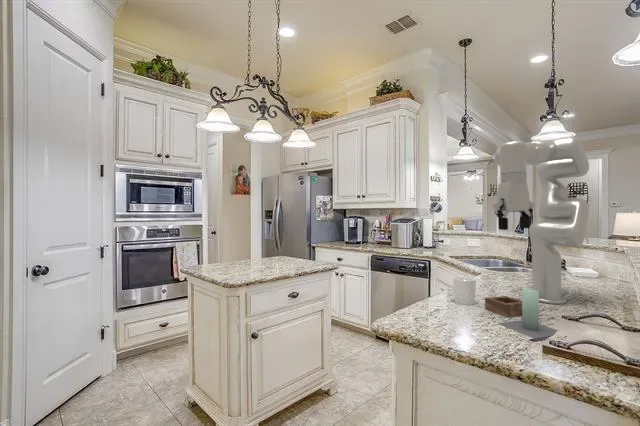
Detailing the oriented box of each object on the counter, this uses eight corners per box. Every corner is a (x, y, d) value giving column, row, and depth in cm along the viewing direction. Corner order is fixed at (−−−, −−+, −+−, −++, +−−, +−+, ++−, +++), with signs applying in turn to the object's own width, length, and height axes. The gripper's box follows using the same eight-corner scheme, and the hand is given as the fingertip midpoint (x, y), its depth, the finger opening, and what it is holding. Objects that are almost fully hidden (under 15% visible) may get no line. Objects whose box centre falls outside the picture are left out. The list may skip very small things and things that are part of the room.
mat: (527, 322, 99) (527, 319, 99) (566, 337, 88) (566, 333, 88) (497, 326, 96) (497, 323, 96) (533, 342, 84) (533, 338, 84)
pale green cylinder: (529, 325, 94) (529, 288, 94) (542, 329, 91) (542, 291, 91) (519, 326, 93) (519, 289, 93) (531, 331, 89) (531, 292, 89)
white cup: (471, 302, 123) (471, 276, 123) (479, 308, 115) (479, 280, 115) (450, 301, 123) (450, 276, 123) (457, 307, 115) (457, 280, 115)
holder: (505, 309, 113) (505, 295, 113) (528, 317, 104) (528, 302, 104) (485, 312, 110) (485, 297, 110) (506, 320, 101) (506, 305, 101)
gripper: (522, 179, 113) (523, 226, 113) (484, 179, 107) (485, 229, 108) (542, 177, 106) (543, 228, 106) (503, 177, 100) (504, 231, 101)
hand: (514, 228), depth 107 cm, fingers open, 9 cm apart
